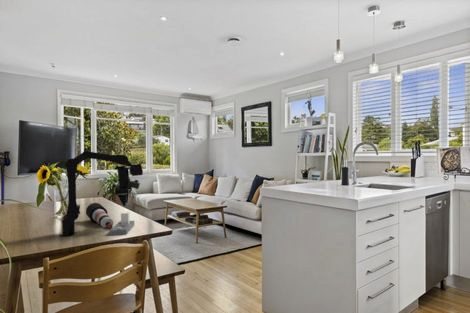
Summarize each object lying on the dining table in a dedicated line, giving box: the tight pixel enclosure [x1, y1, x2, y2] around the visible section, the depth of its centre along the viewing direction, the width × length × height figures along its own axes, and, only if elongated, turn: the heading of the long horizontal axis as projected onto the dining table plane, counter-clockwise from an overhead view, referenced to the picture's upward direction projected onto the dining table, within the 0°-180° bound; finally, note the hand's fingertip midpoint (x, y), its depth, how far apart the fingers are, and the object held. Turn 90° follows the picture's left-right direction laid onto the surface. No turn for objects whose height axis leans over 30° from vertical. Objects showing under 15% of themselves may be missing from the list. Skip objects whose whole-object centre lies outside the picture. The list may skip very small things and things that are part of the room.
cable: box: [85, 202, 114, 230], centre depth 179 cm, size 10×34×10 cm, turn 39°
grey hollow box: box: [109, 220, 135, 236], centre depth 163 cm, size 20×8×4 cm, turn 7°
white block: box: [120, 211, 131, 224], centre depth 169 cm, size 4×4×8 cm
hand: (125, 204), depth 171 cm, fingers open, 9 cm apart
